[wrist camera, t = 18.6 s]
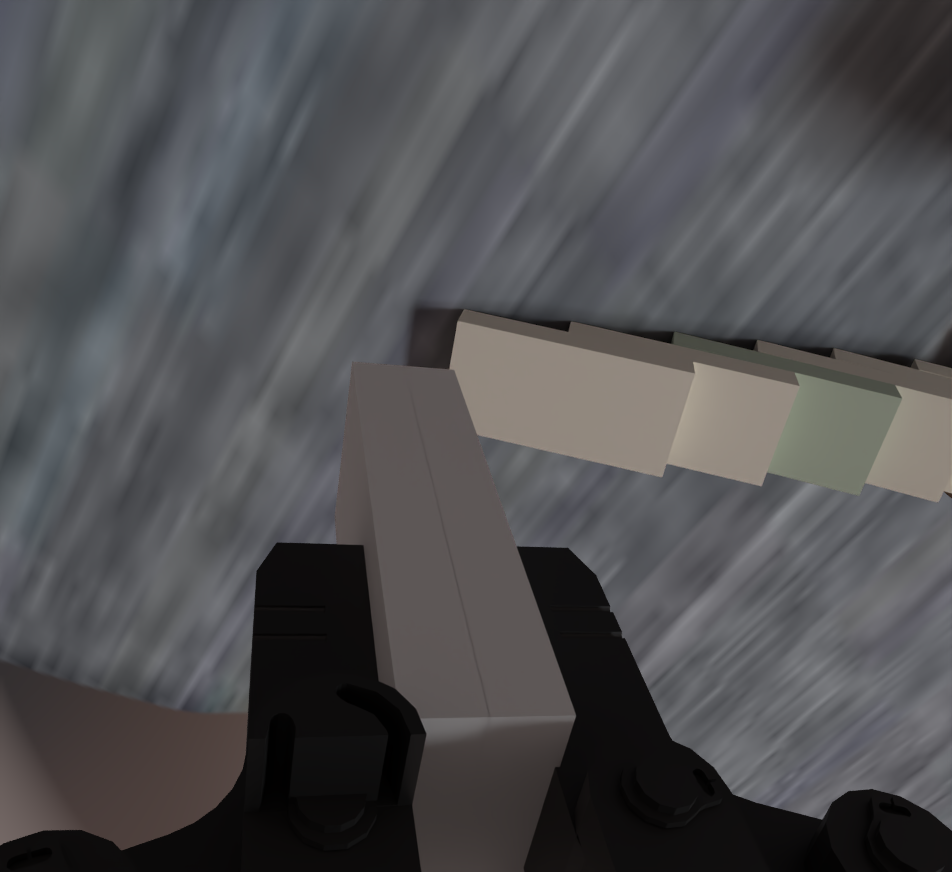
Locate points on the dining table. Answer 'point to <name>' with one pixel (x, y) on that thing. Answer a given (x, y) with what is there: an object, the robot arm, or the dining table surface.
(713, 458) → the domino
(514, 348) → the domino
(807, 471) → the domino
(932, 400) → the domino
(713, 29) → the dining table surface
